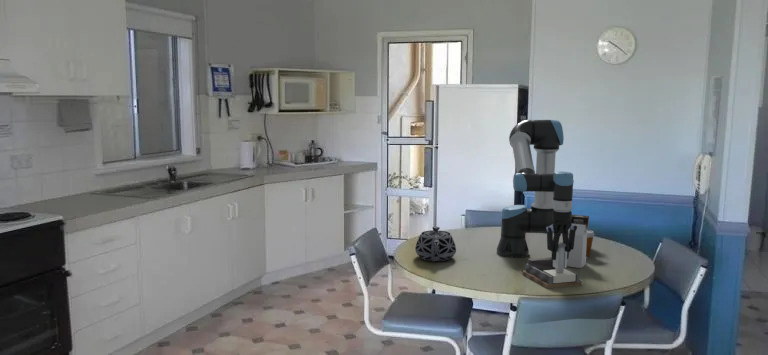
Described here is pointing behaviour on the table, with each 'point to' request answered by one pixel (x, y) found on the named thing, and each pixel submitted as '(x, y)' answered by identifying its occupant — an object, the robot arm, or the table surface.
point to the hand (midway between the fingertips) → (559, 266)
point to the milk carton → (578, 247)
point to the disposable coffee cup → (589, 242)
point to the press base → (536, 273)
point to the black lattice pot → (435, 245)
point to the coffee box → (580, 220)
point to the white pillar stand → (561, 268)
